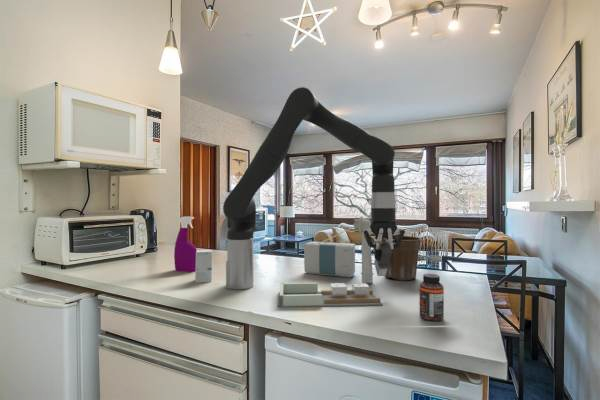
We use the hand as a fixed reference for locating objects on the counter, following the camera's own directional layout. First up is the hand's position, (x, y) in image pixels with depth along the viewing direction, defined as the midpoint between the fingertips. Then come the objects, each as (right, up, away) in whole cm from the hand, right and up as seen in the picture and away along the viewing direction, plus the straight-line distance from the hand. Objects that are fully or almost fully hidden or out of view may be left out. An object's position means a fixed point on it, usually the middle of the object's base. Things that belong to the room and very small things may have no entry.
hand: (383, 260), depth 100 cm
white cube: (-15, -12, -1) cm, 19 cm away
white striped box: (-14, -12, +32) cm, 37 cm away
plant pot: (+14, -12, +28) cm, 33 cm away
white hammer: (-2, -12, +19) cm, 23 cm away
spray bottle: (-76, -13, +36) cm, 85 cm away
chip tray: (-27, -12, -1) cm, 29 cm away
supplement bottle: (+8, -12, -17) cm, 22 cm away
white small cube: (-8, -12, 0) cm, 14 cm away
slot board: (-18, -12, -1) cm, 22 cm away
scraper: (0, -4, +5) cm, 6 cm away
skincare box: (-63, -12, +20) cm, 68 cm away
